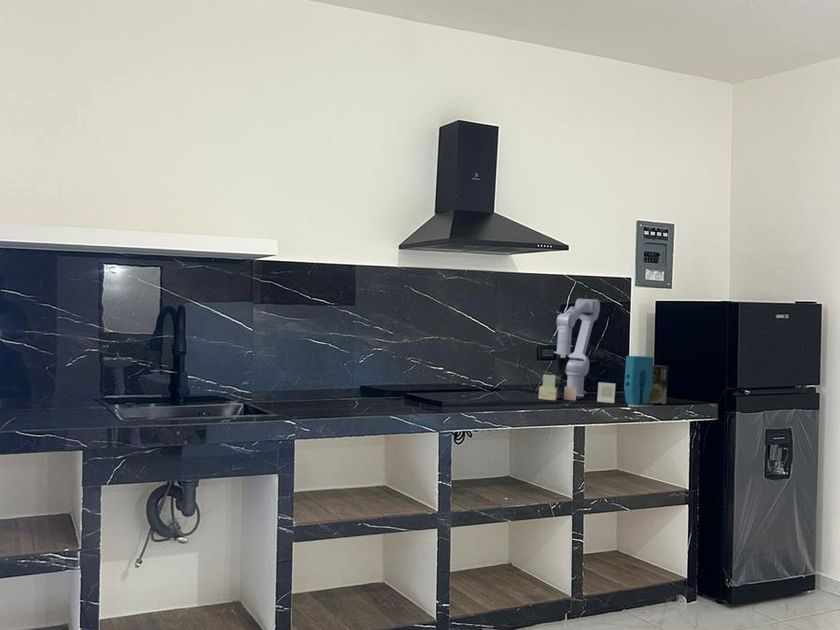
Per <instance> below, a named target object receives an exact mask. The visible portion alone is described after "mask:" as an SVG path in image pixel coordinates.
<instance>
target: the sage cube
mask: <svg viewBox="0 0 840 630" xmlns="http://www.w3.org/2000/svg"><path fill="white" fill-rule="evenodd" d="M542 375H543V377H542V386H543V387H544V388H555V387H556V377H557V376H556V375H555V374H554V375H553V374H542Z"/></svg>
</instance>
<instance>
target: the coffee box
mask: <svg viewBox="0 0 840 630" xmlns="http://www.w3.org/2000/svg"><path fill="white" fill-rule="evenodd" d="M668 372H669V366H667V365H657V364H653V375H652V388H651V393H650V396H649V400H648V404H657V403H661V404H660V405H666V404H667V395H668V394H667V392H668V374H669V373H668Z"/></svg>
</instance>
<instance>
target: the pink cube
mask: <svg viewBox="0 0 840 630" xmlns="http://www.w3.org/2000/svg"><path fill="white" fill-rule="evenodd" d="M576 399H577V396H576V387H567V386H564V390H563V400H568V401H576Z"/></svg>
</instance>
